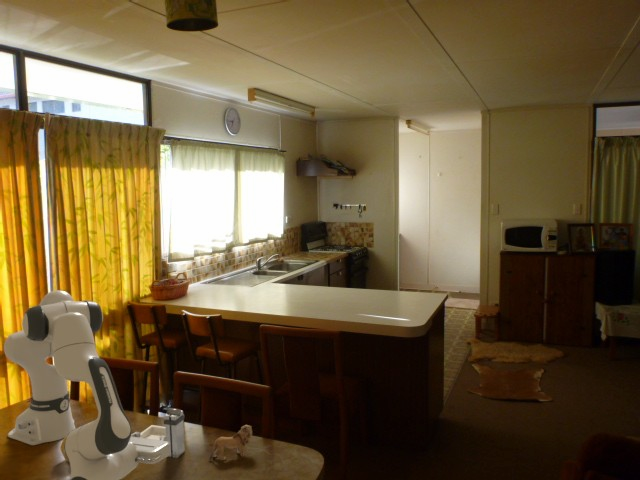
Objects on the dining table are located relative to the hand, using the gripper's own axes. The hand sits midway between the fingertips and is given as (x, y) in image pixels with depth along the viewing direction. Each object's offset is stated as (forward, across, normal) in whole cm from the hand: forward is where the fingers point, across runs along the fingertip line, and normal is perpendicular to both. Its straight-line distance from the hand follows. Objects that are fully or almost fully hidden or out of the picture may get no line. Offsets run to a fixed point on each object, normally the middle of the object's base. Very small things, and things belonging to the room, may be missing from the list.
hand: (151, 436), depth 161 cm
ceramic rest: (+16, +11, +11) cm, 23 cm away
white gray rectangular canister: (+12, 0, +11) cm, 16 cm away
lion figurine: (+16, -19, +12) cm, 27 cm away
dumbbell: (+6, +29, +12) cm, 32 cm away
